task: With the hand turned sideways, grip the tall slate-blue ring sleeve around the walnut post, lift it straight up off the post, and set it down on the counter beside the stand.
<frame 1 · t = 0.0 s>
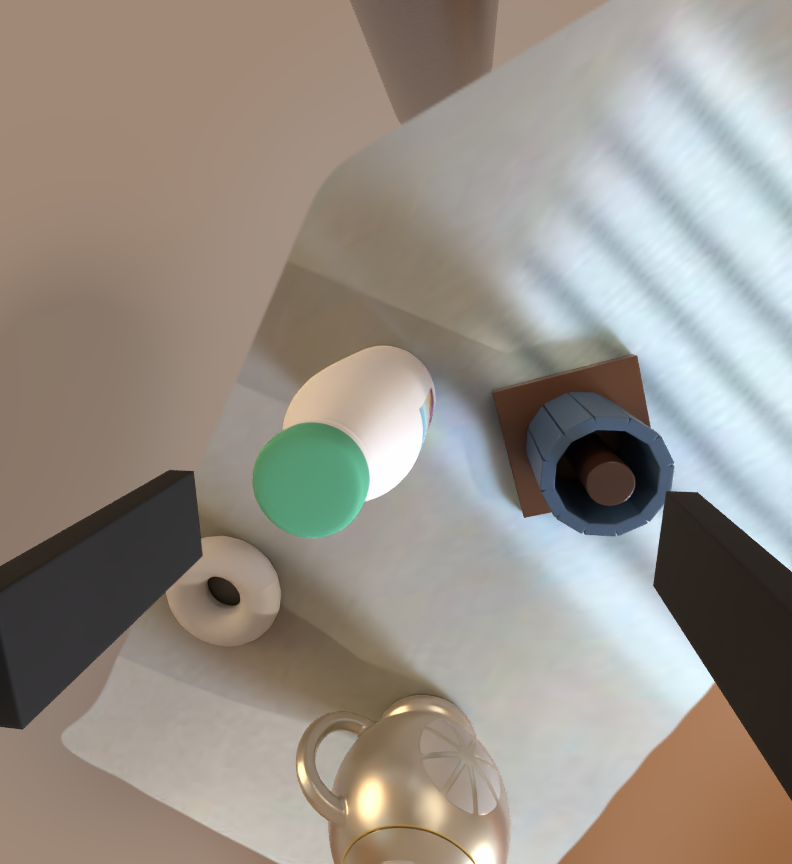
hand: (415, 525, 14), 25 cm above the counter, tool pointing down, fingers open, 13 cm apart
milk bottle: (386, 395, 39), on the counter
teapot: (412, 720, 46), on the counter
post stand: (574, 437, 38), on the counter
donut: (233, 579, 45), on the counter
ring sleeve: (577, 441, 37), point 1 cm above the counter, touching post stand
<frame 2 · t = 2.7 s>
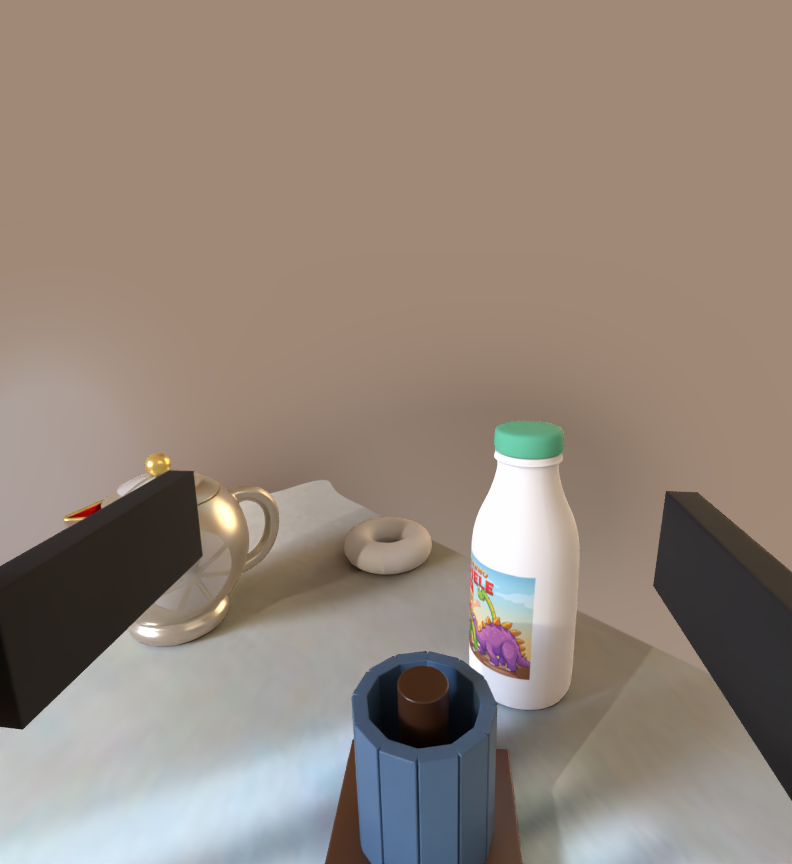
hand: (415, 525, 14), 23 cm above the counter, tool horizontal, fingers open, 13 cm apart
milk bottle: (518, 677, 40), on the counter
teapot: (198, 615, 49), on the counter
post stand: (425, 834, 28), on the counter
donut: (388, 558, 59), on the counter
ring sleeve: (425, 820, 28), point 1 cm above the counter, touching post stand
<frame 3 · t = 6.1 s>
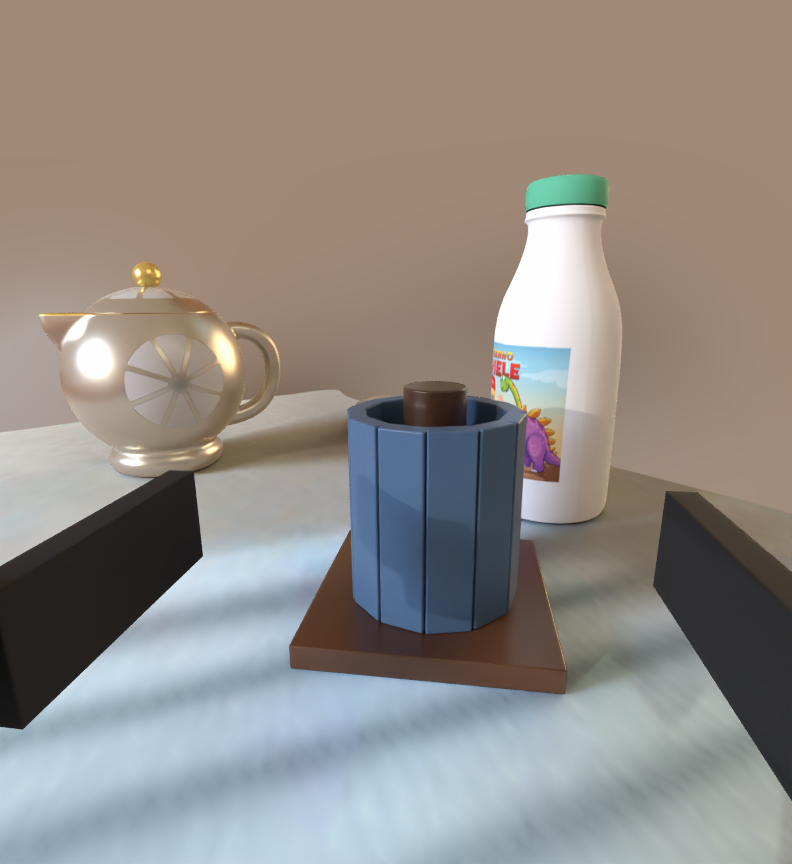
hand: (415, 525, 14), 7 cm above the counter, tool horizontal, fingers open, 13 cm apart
milk bottle: (544, 505, 35), on the counter
teapot: (188, 462, 45), on the counter
post stand: (432, 603, 23), on the counter
ring sleeve: (432, 583, 23), point 1 cm above the counter, touching post stand
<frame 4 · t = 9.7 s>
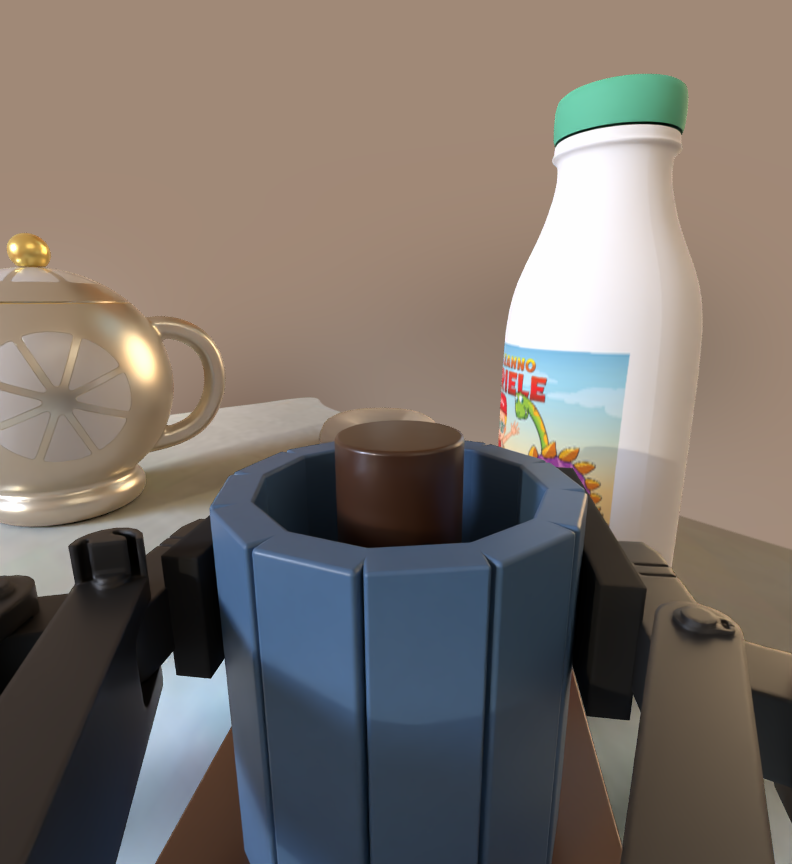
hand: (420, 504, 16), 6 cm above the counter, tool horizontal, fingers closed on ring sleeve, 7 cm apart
milk bottle: (575, 578, 24), on the counter
teapot: (99, 500, 34), on the counter
post stand: (400, 822, 13), on the counter
donut: (380, 457, 43), on the counter
ring sleeve: (400, 790, 13), point 1 cm above the counter, touching gripper, post stand
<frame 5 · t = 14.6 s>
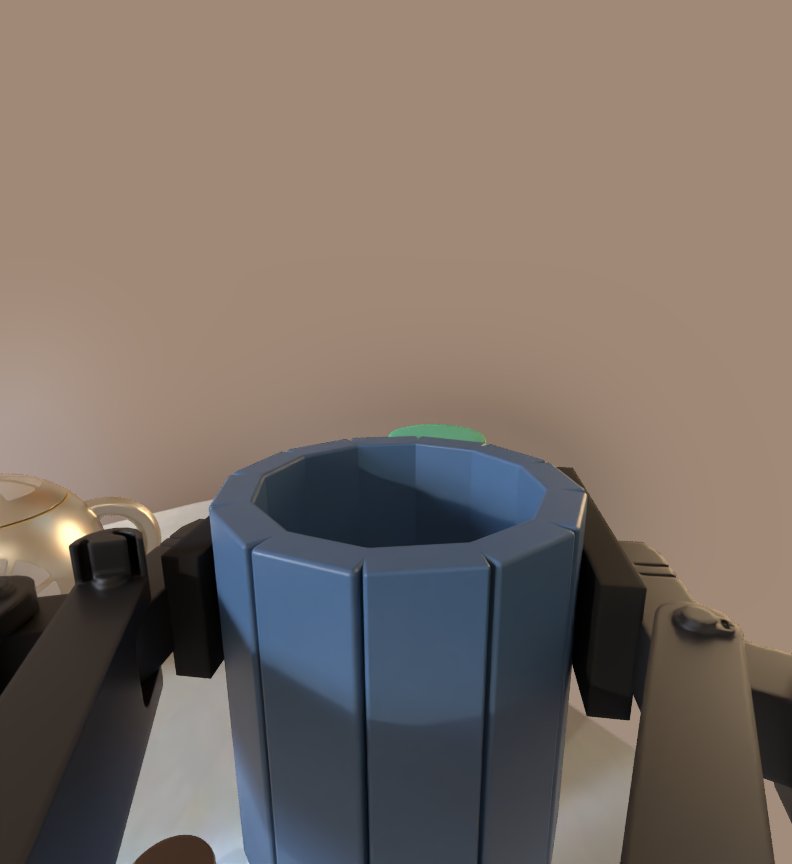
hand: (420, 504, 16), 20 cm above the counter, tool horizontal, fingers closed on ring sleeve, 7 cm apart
milk bottle: (429, 784, 28), on the counter
teapot: (43, 661, 38), on the counter
ring sleeve: (400, 790, 13), point 14 cm above the counter, touching gripper
when the fingers open (5 cm above the counter, at t = 19.6 s): ring sleeve stays where it is, on the counter.
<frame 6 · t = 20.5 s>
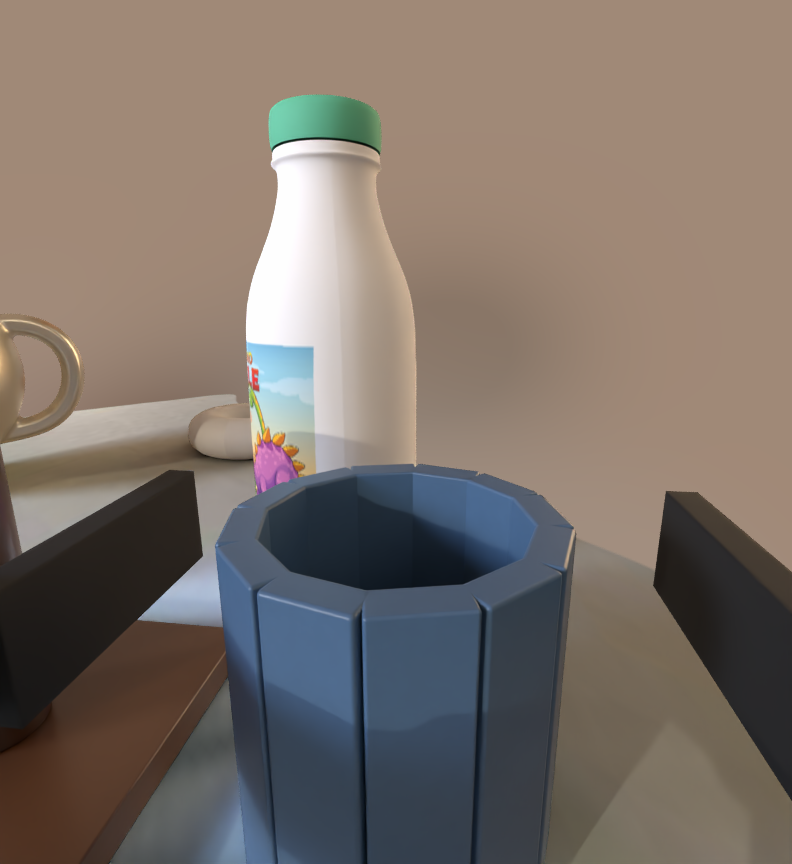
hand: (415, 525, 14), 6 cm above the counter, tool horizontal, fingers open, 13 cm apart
milk bottle: (339, 557, 26), on the counter
post stand: (4, 752, 15), on the counter
donut: (250, 449, 45), on the counter
ring sleeve: (397, 808, 13), on the counter
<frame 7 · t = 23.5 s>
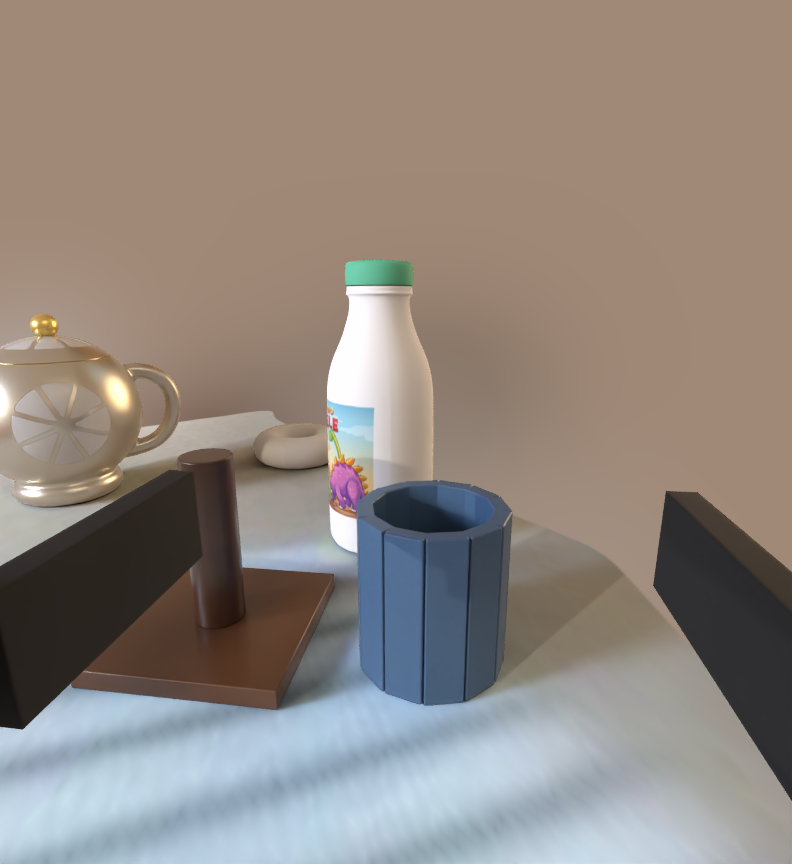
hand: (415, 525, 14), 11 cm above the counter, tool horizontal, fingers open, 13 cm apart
milk bottle: (381, 537, 39), on the counter
teapot: (90, 490, 49), on the counter
post stand: (222, 630, 28), on the counter
donut: (299, 460, 58), on the counter
ring sleeve: (430, 651, 26), on the counter
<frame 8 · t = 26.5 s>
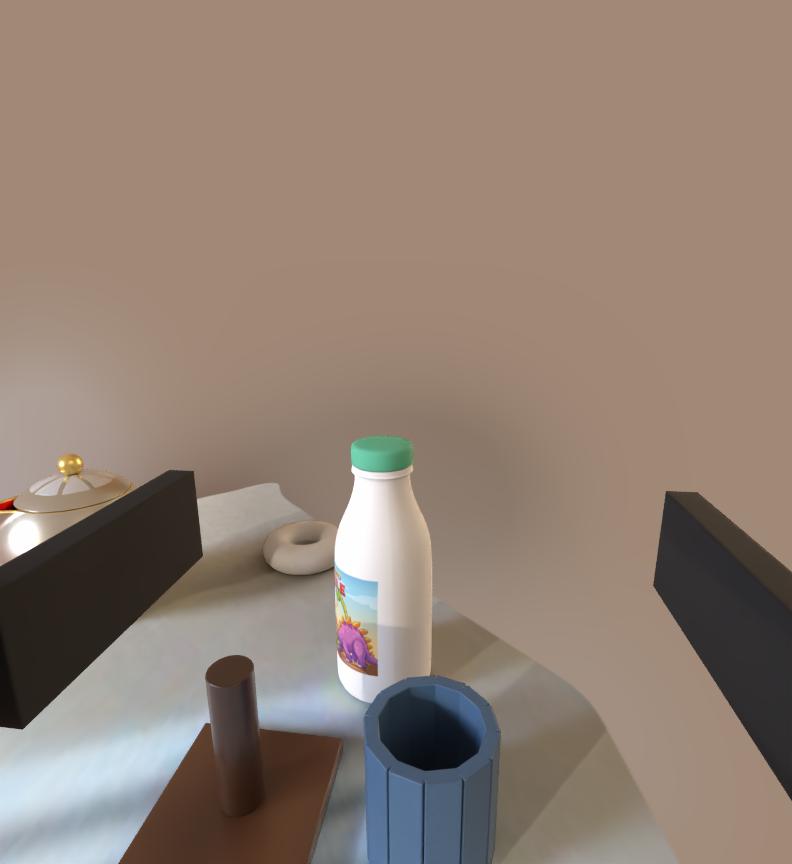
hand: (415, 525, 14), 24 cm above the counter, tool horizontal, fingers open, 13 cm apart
milk bottle: (384, 675, 43), on the counter
teapot: (112, 606, 53), on the counter
post stand: (243, 809, 31), on the counter
donut: (306, 560, 62), on the counter
ring sleeve: (429, 837, 30), on the counter
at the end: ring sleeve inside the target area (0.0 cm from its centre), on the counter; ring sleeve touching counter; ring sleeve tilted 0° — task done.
